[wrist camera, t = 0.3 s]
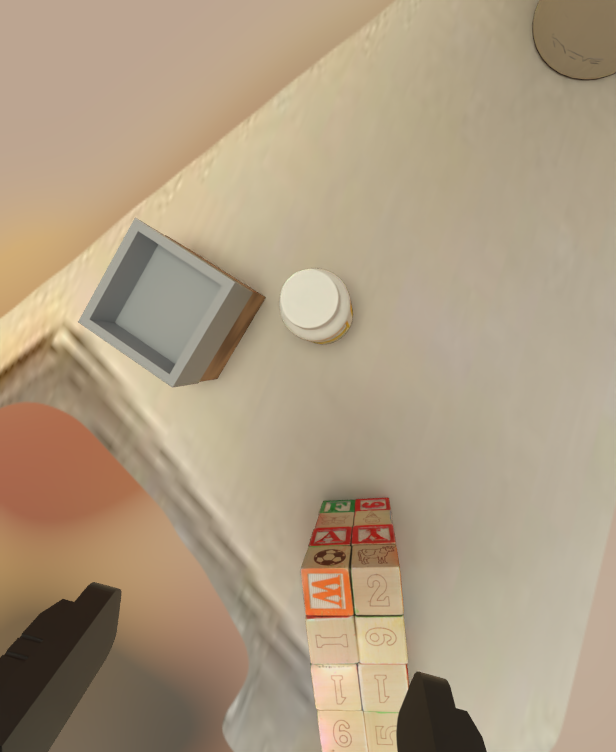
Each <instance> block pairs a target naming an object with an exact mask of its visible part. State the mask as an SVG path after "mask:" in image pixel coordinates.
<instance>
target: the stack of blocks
mask: <svg viewBox="0 0 616 752" xmlns="http://www.w3.org/2000/svg"><path fill="white" fill-rule="evenodd" d="M301 578H302V586H303V595H304V604H305V612H306V629H307V637H308V645H309V652H310V659H311V668H310V669H311V677H312V684H313V691H314V699H315V706H316V708H317V718H318V726H319V733H320V741H321V748H322V752H398V751H397V741H396V729H397V719H398V714H399V711H400V708H401V706H402V703H403V701H404V698H405V696H406V693H407V691H408V688H409V679H408V669H407V662H408V655H407V645H406V635H405V625H404V616H403V613H404V609H403V598H402V586H401V575H400V566H399V560H398V553H397V548H396V541H395V533H394V528H393V525H392V514H391V507H390V501H389V498H371V499H356V500H337V501H323V503H322V506H321V508H320V511H319V517H318V520H317V523H316V526H315V529H314V530H313V532H312V536H311V539H310V542H309V545H308V550H307V553H306V555H305V558H304V561H303V564H302V567H301Z"/></svg>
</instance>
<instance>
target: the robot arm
mask: <svg viewBox="0 0 616 752" xmlns="http://www.w3.org/2000/svg"><path fill="white" fill-rule="evenodd" d="M533 36H534V40H535V44H536V47H537V49H538V51H539V53H540V55H541V57H542V58H543V59H544V60H545V61H546V63H547V64H548V65H549V66H550V67H552V68H553V69H555V70H556V71H558V72H559V73H561V74H564V75H566V76H569V77H572V78H579V79H597V78H601V77H605V76H609V75H612V74H614V73H616V0H539V3H538V5H537V8H536V10H535V15H534V21H533ZM120 601H121V590H120V589H118V588H114V587H110V586H107V585H103V584H99V583H95V582H93V583H91V584H90V585H88V586H87V588H86V589H85V590H84V591H83V592H82V593H81V595H80V596H79V597H78V598H77V600H76V601H75V602H72V601H68V600H65V599H62V600H61V601H59V602H57V603H56V604H54V605H53V606H51V607H50V608H48V609H46V610H45V611H43V612H42V613H40V614H39V615H38V616H37V618H36V619H35V620H34V621H33V622H32V623H31V624H30V625H29V627H28V628H27V629H26V630H25V631H24V632H23V633H22V636H21V637H20V638H18V639H17V640H16V641H15V642H14V643H13V644H12V645H11V646H10V647H9V649H8V650H7V652H6V653H5V655H2V656H1V658H0V752H48V751H49V749H50V747H51V746H52V744H53V743H54V741H55V739H56V738H57V736H58V735H59V733H60V731H61V730H62V728H63V727H64V725H65V723H66V722H67V720H68V719H69V717H70V715H71V714H72V712H73V711H74V709H75V707H76V706H77V704H78V703H79V701H80V699H81V698H82V696H83V694H84V693H85V691H86V690H87V688H88V687H89V685H90V683H91V682H92V680H93V679H94V677H95V676H96V674H97V672H98V671H99V669H100V667H101V666H102V664H103V663H104V661H105V659H106V658H107V656H108V654H109V652H110V649H111V647H112V645H113V642H114V640H115V636H116V632H117V625H118V617H119V609H120ZM396 741H397V751H398V752H486V748H485V745H484V741H483V738H482V736H481V734H480V733H479V731H478V729H477V727H476V726H475V724H474V722H473V721H472V719H471V717H470V715H469V714H468V712H467V711H464V710H460V709H457V708H456V707H455V704H454V700H453V696H452V692H451V688H450V685H449V683H448V681H447V680H446V679H443V678H440V677H436V676H432V675H429V674H425V673H421V672H416V673H415V674H414V676H413V679H412V681H411V684H410V686H409V688H408V691H407V693H406V696H405V698H404V701H403V703H402V706H401V708H400V711H399V714H398V719H397V729H396Z"/></svg>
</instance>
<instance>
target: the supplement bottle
mask: <svg viewBox="0 0 616 752" xmlns="http://www.w3.org/2000/svg"><path fill="white" fill-rule="evenodd" d="M279 310H280V314H281V318H282V320H283V322H284V324H285V325H286V327H287V328H288V329H289V330H290V331H291V332H292V333H293V334H294V335H296V336H298V337H300V338H302V339H304V340H308V341H311V342H314V343H318V344H328V343H332V342H335V341H337V340H339V339H340V338H341V337H343V336H344V335H345V334H346V332H347V331H348V329H349V328H350V325H351V323H352V318H353V310H352V305H351V301H350V296H349V292H348V290H347V288H346V286H345V284H344V283H343V282H342V280H341V279H340V278H339V277H338V276H336V275H335V274H334V273H332V272H330V271H327V270H324V269H319V268H312V269H304V270H300V271H298V272H296V273H294V274H293V275H291V276H290V277H289V278H288V279H287V281H286V282H285V283H284V285H283V287H282V290H281V294H280V300H279Z"/></svg>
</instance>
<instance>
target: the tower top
mask: <svg viewBox="0 0 616 752" xmlns="http://www.w3.org/2000/svg"><path fill="white" fill-rule="evenodd" d="M252 293H253V292H252V291H250V290H248V289H247V288H245V287H244V286H242V285H241V284H239V283H238V282H236V281H235V280H233V279H231V278H230V277H228V276H227V275H225V274H224V273H222V272H221V271H219V270H218V269H216V268H215V267H213V266H211V265H210V264H208V263H207V262H205V261H204V260H202V259H201V258H199V257H198V256H196V255H194V254H193V253H191V252H190V251H188V250H187V249H185V248H184V247H182V246H181V245H179V244H178V243H176V242H174V241H173V240H171V239H170V238H168V237H167V236H165V235H163V234H162V233H160V232H158V231H157V230H155V229H153V228H152V227H150V226H148V225H147V224H145V223H143V222H142V221H140V220H138V219H137V218H135V219H134V221H133V223H132V224H131V226H130V228H129V230H128V232H127V234H126V235H125V237H124V239H123V241H122V243H121V245H120V246H119V248H118V250H117V252H116V254H115V255H114V257H113V259H112V261H111V263H110V265H109V266H108V268H107V270H106V272H105V274H104V276H103V277H102V279H101V281H100V283H99V285H98V287H97V288H96V290H95V292H94V294H93V296H92V297H91V299H90V301H89V303H88V305H87V307H86V308H85V310H84V312H83V314H82V316H81V318H80V319H79V321H78V322H79V323H80V324H81V325H83V326H84V327H86V328H87V329H89V330H90V331H92V332H93V333H94V334H96V335H97V336H99V337H100V338H102V339H103V340H105V341H106V342H107V343H109V344H110V345H112V346H113V347H115V348H116V349H118V350H119V351H120V352H122V353H123V354H125V355H126V356H128V357H129V358H131V359H132V360H133V361H135V362H136V363H138V364H139V365H141V366H142V367H144V368H145V369H146V370H148V371H149V372H151V373H152V374H154V375H155V376H157V377H158V378H159V379H161V380H162V381H164V382H165V383H167V384H168V385H170V386H171V387H178V386H184V385H190V384H196V383H199V381H200V379H201V378H202V376H203V374H204V373H205V371H206V369H207V368H208V366H209V364H210V363H211V361H212V360H213V358H214V356H215V355H216V353H217V351H218V350H219V348H220V346H221V345H222V343H223V341H224V340H225V338H226V336H227V335H228V333H229V331H230V330H231V328H232V327H233V325H234V323H235V322H236V320H237V318H238V317H239V315H240V313H241V312H242V310H243V308H244V307H245V305H246V303H247V302H248V300H249V298H250V297H251V295H252Z"/></svg>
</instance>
